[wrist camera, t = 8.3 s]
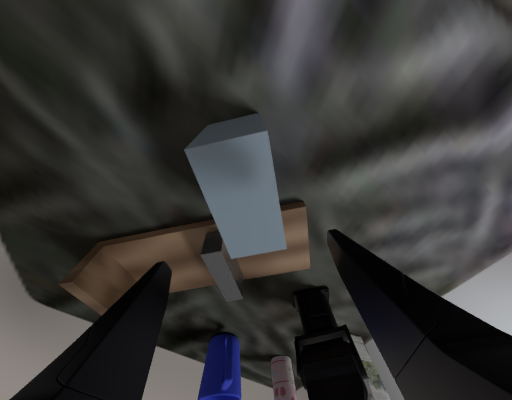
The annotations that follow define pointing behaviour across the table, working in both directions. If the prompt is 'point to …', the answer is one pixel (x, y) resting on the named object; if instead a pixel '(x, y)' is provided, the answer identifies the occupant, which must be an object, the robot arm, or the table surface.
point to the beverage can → (283, 378)
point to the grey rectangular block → (222, 266)
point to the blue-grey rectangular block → (239, 184)
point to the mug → (221, 370)
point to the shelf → (178, 259)
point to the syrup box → (370, 372)
